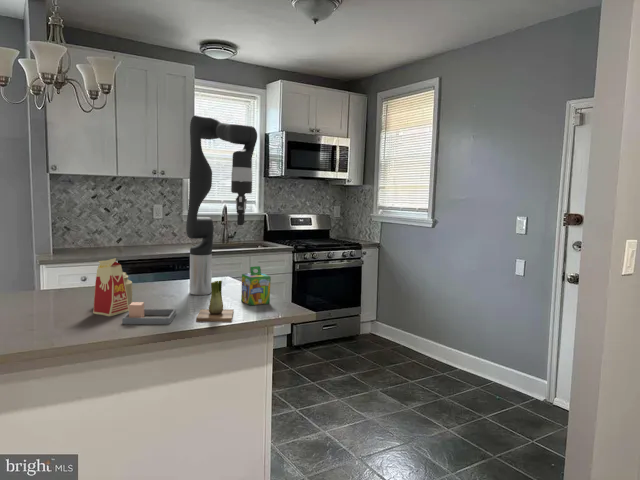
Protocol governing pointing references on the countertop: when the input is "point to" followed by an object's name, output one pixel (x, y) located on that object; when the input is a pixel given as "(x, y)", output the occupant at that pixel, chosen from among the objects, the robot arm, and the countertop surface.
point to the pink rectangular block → (136, 310)
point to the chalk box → (255, 287)
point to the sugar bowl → (128, 288)
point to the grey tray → (151, 320)
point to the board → (215, 316)
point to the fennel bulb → (216, 298)
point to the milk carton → (110, 289)
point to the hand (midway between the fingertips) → (240, 224)
